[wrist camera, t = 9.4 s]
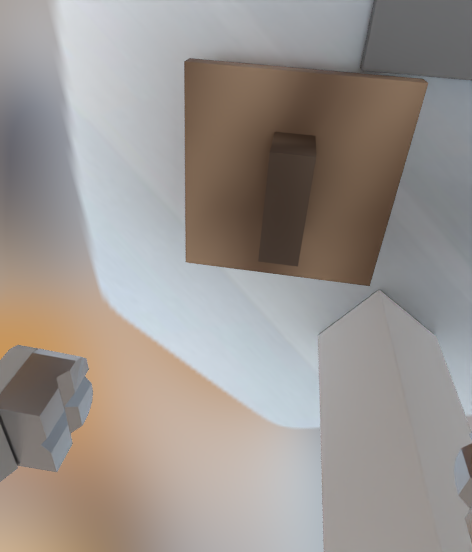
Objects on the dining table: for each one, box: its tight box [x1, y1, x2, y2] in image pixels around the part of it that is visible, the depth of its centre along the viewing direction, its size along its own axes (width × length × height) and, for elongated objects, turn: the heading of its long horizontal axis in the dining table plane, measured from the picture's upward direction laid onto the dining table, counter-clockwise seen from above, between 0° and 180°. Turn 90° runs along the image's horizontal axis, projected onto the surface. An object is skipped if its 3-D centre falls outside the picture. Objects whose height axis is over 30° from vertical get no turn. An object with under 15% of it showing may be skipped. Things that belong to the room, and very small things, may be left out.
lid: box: [184, 58, 428, 286], centre depth 19 cm, size 10×10×4 cm
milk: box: [318, 290, 472, 552], centre depth 22 cm, size 6×6×22 cm
